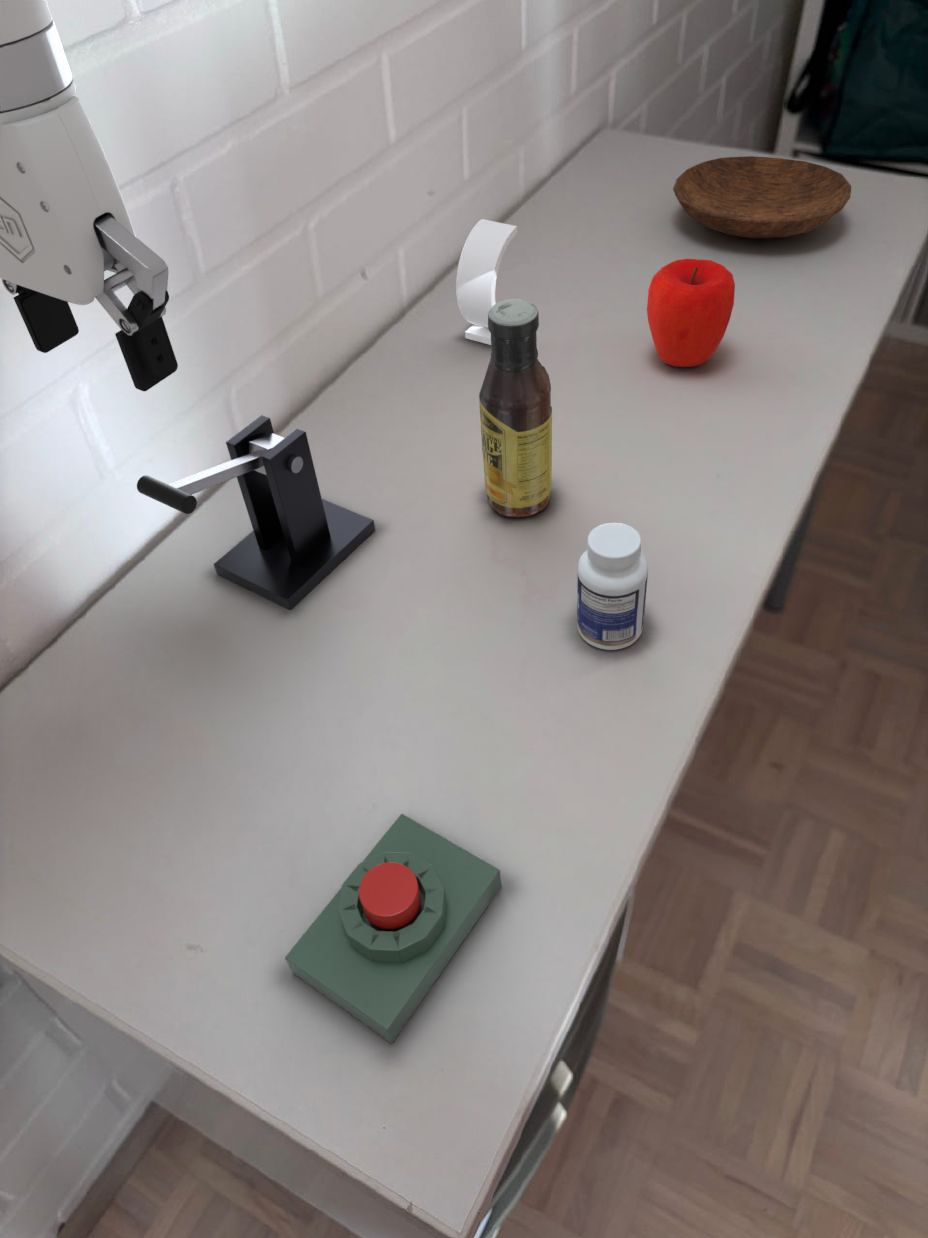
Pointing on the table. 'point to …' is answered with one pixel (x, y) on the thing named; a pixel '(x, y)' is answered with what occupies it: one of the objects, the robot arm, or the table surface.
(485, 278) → the headphone stand
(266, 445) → the lever
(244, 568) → the bracket
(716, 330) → the apple
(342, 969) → the button box
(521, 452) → the sauce bottle
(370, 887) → the button
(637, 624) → the pill bottle
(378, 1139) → the table surface
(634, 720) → the table surface
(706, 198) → the bowl
